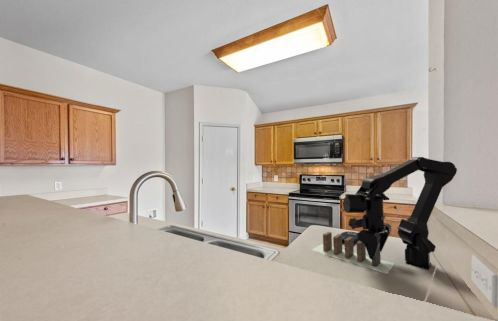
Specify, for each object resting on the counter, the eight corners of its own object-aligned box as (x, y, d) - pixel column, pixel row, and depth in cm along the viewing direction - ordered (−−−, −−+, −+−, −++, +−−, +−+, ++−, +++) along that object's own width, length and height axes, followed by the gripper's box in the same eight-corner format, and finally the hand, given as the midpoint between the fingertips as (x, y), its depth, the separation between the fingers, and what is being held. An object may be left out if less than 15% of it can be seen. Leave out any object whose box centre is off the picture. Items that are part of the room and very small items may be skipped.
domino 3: (353, 254, 84) (353, 237, 84) (348, 258, 80) (348, 240, 80) (350, 253, 85) (349, 236, 85) (345, 257, 81) (344, 239, 81)
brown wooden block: (365, 258, 80) (365, 240, 81) (361, 262, 77) (360, 243, 77) (362, 257, 81) (361, 239, 82) (357, 261, 78) (356, 242, 78)
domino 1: (332, 248, 90) (331, 232, 90) (326, 252, 87) (326, 235, 87) (328, 247, 91) (328, 231, 91) (323, 251, 88) (322, 234, 88)
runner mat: (394, 264, 76) (394, 263, 76) (387, 275, 69) (387, 273, 69) (322, 244, 96) (322, 243, 96) (311, 250, 89) (311, 249, 89)
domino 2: (342, 251, 87) (341, 234, 87) (337, 255, 84) (336, 237, 84) (339, 250, 88) (338, 234, 88) (333, 254, 85) (333, 236, 85)
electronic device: (355, 251, 92) (364, 237, 103) (352, 238, 92) (362, 226, 103) (335, 248, 99) (345, 235, 109) (332, 237, 99) (343, 225, 110)
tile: (380, 262, 77) (379, 243, 77) (376, 267, 73) (375, 247, 74) (376, 261, 78) (375, 242, 78) (371, 265, 74) (371, 246, 75)
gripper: (360, 205, 88) (361, 242, 88) (341, 213, 75) (342, 256, 75) (390, 209, 80) (392, 249, 80) (375, 218, 67) (377, 267, 67)
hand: (375, 255), depth 76 cm, fingers open, 9 cm apart
